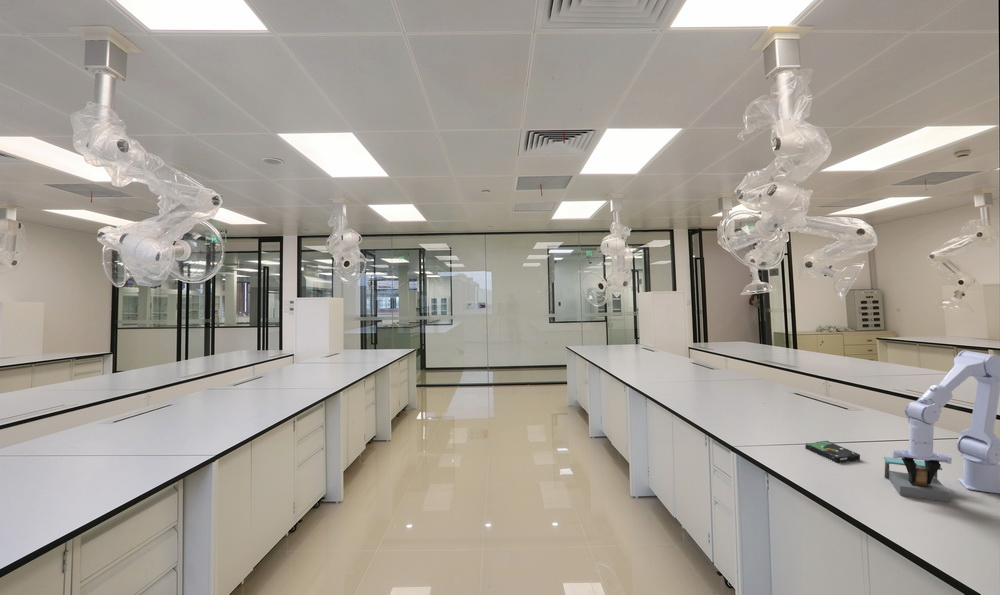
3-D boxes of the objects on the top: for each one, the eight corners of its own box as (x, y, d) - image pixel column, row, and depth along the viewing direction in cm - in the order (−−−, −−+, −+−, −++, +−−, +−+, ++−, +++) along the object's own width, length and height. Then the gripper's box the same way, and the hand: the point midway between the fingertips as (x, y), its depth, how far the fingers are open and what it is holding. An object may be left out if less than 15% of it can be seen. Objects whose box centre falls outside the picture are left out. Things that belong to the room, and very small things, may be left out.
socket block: (934, 485, 157) (935, 476, 157) (949, 502, 146) (949, 492, 146) (888, 479, 162) (889, 470, 162) (899, 495, 151) (900, 485, 151)
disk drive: (860, 461, 178) (826, 446, 193) (860, 454, 178) (826, 440, 192) (837, 464, 176) (804, 449, 191) (837, 457, 176) (804, 442, 190)
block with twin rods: (936, 483, 158) (937, 462, 158) (941, 489, 154) (942, 468, 154) (883, 476, 164) (884, 456, 164) (887, 481, 160) (887, 461, 160)
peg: (929, 493, 150) (930, 471, 149) (915, 491, 151) (916, 470, 151) (923, 488, 153) (924, 467, 153) (910, 487, 154) (911, 465, 154)
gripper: (944, 438, 152) (943, 479, 153) (888, 433, 158) (887, 473, 159) (955, 446, 146) (954, 489, 146) (896, 441, 151) (895, 482, 152)
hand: (920, 481), depth 152 cm, fingers closed on peg, 3 cm apart
